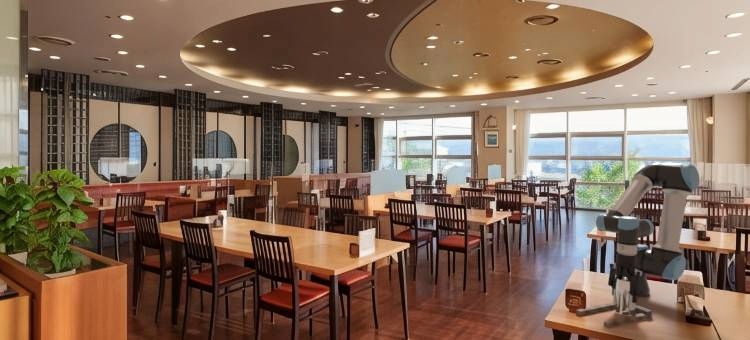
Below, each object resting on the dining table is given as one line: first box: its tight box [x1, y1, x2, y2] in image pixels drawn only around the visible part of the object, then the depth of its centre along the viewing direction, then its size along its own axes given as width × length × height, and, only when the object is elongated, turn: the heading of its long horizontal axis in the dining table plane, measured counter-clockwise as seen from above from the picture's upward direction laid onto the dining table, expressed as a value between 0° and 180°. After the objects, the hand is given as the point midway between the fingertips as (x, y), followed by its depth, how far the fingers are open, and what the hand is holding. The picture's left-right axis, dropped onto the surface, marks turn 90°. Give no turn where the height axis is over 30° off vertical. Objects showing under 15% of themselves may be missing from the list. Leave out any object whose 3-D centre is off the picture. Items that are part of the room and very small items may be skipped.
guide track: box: [575, 302, 653, 329], centre depth 183 cm, size 26×15×3 cm, turn 114°
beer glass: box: [615, 277, 633, 317], centre depth 185 cm, size 7×7×15 cm
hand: (623, 306), depth 185 cm, fingers closed on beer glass, 7 cm apart
